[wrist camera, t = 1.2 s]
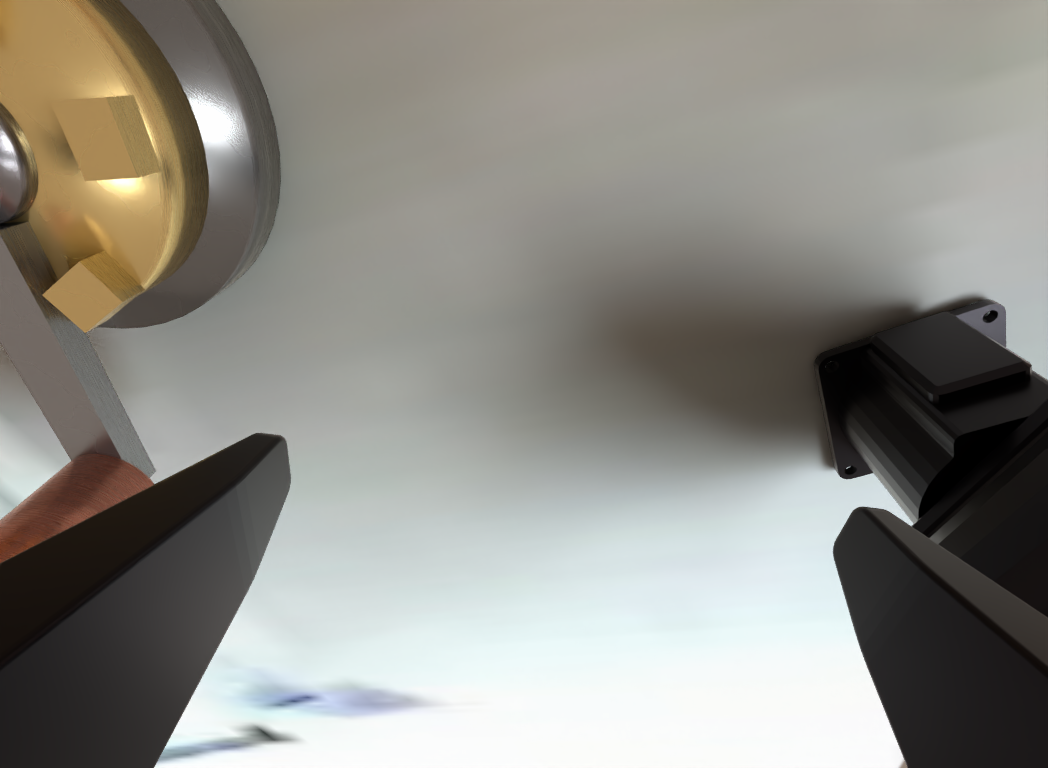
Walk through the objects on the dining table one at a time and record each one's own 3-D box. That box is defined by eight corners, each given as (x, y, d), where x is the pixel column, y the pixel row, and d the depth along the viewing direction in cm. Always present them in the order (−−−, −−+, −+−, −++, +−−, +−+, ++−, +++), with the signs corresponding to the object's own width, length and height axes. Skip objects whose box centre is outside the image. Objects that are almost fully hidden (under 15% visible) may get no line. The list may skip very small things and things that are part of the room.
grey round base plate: (352, 230, 20) (333, 246, 18) (91, 351, 23) (54, 375, 21) (80, -237, 14) (14, -278, 12) (-222, 9, 17) (-308, 3, 15)
